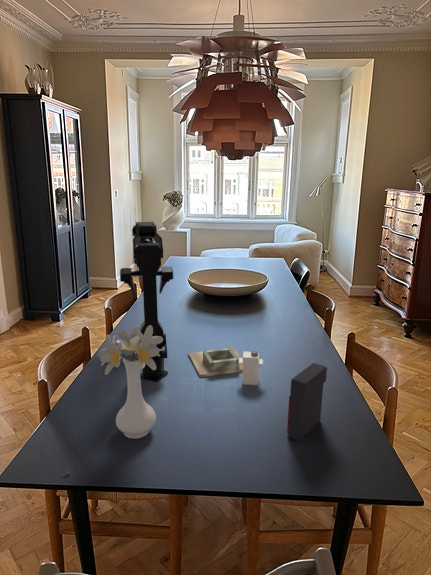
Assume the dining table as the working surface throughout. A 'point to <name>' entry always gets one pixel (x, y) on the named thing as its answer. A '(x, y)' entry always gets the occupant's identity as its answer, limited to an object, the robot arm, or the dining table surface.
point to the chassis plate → (216, 362)
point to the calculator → (305, 401)
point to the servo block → (250, 367)
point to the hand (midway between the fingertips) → (147, 294)
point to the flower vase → (133, 377)
